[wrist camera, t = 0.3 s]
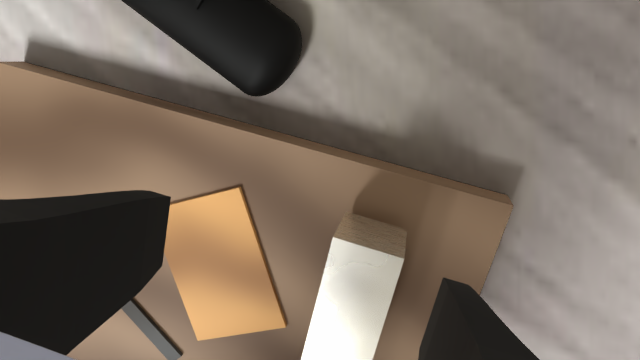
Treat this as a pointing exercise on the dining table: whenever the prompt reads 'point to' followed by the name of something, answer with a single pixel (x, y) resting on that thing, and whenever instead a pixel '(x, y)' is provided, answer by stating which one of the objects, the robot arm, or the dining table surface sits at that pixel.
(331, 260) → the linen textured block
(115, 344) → the board
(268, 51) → the door handle
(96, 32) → the dining table surface
